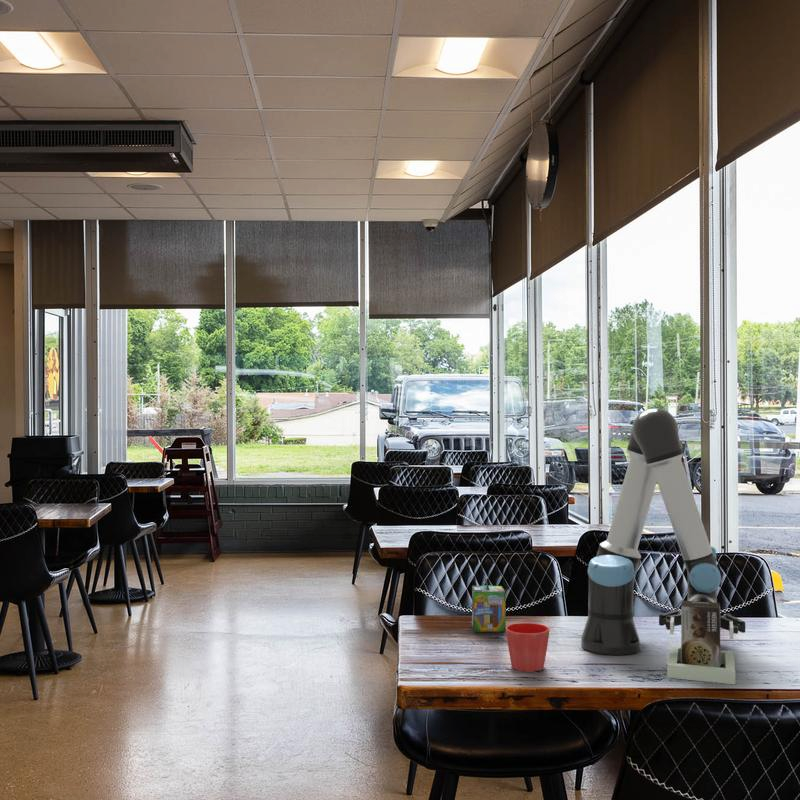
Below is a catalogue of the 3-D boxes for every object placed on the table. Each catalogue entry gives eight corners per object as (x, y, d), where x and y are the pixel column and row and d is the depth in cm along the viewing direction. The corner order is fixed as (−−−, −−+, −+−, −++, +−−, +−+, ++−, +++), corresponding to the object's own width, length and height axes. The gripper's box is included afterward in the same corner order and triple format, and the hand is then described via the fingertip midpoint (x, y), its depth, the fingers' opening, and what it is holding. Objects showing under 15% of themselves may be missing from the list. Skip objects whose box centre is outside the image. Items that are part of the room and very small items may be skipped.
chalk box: (505, 632, 252) (506, 580, 252) (473, 632, 252) (473, 579, 252) (502, 624, 261) (503, 573, 261) (471, 624, 261) (471, 573, 261)
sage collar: (667, 677, 211) (667, 664, 211) (670, 657, 228) (670, 645, 228) (735, 684, 207) (735, 671, 207) (733, 663, 224) (733, 651, 224)
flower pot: (496, 667, 218) (496, 627, 218) (522, 658, 226) (522, 620, 226) (532, 677, 211) (532, 635, 211) (558, 667, 219) (558, 627, 219)
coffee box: (720, 668, 219) (720, 602, 219) (720, 676, 213) (721, 608, 213) (681, 664, 222) (681, 599, 222) (680, 672, 216) (680, 604, 216)
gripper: (753, 630, 230) (757, 651, 210) (652, 621, 239) (647, 641, 218) (753, 601, 231) (757, 619, 210) (652, 593, 239) (647, 610, 219)
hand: (701, 630), depth 214 cm, fingers open, 13 cm apart
